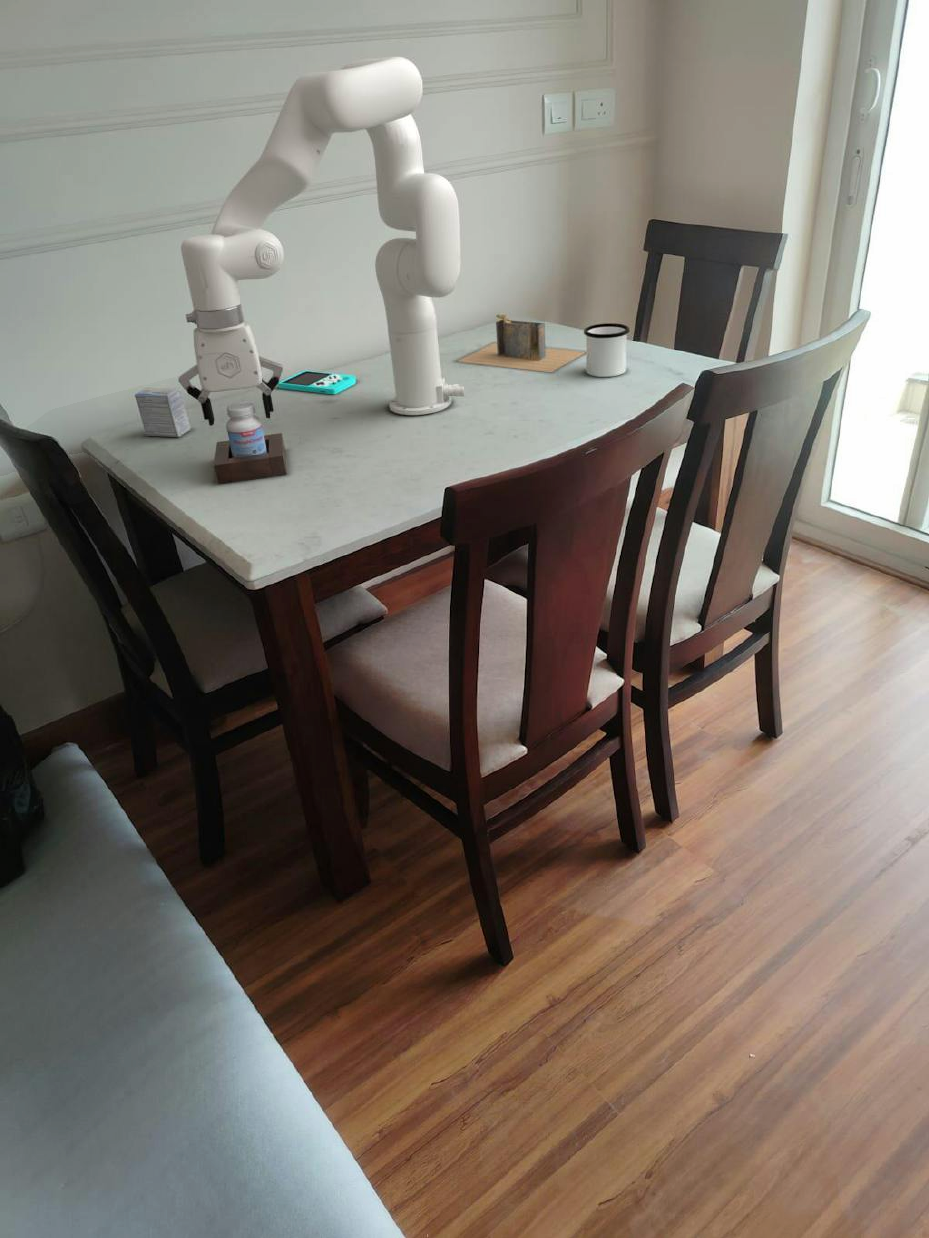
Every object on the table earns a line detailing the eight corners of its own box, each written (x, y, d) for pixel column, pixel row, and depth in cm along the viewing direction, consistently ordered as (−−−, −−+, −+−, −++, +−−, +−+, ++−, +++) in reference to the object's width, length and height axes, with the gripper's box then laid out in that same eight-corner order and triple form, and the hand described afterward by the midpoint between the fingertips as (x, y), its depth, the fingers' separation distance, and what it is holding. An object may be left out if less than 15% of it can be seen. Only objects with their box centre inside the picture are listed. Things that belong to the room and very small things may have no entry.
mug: (616, 380, 183) (617, 336, 178) (576, 376, 188) (575, 332, 183) (640, 364, 191) (642, 321, 187) (601, 360, 196) (601, 318, 191)
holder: (285, 450, 163) (281, 432, 161) (286, 474, 153) (282, 455, 152) (220, 460, 162) (216, 441, 160) (218, 484, 152) (213, 465, 150)
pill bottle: (240, 476, 154) (226, 414, 148) (231, 465, 159) (217, 405, 153) (274, 468, 156) (261, 406, 150) (264, 457, 161) (251, 397, 155)
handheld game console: (333, 395, 190) (332, 388, 189) (276, 388, 197) (275, 382, 196) (360, 381, 197) (360, 375, 196) (304, 375, 204) (303, 369, 204)
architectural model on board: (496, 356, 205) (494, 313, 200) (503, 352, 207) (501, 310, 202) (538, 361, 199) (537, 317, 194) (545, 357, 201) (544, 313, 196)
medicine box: (191, 430, 177) (181, 388, 173) (178, 438, 174) (167, 395, 169) (158, 428, 180) (147, 386, 175) (145, 436, 176) (133, 394, 172)
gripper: (163, 329, 140) (187, 433, 148) (273, 317, 142) (291, 420, 151) (167, 318, 146) (191, 419, 155) (273, 307, 148) (290, 407, 157)
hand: (240, 419), depth 153 cm, fingers open, 9 cm apart
